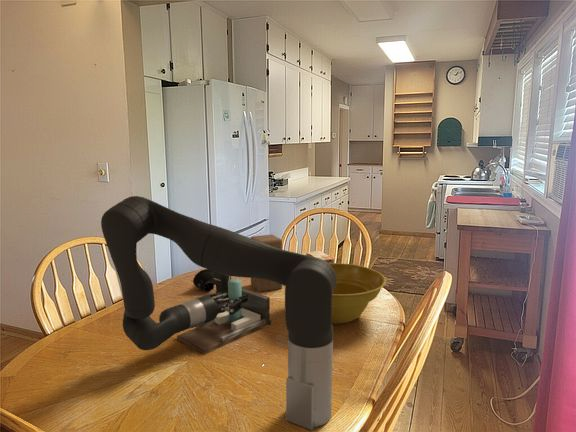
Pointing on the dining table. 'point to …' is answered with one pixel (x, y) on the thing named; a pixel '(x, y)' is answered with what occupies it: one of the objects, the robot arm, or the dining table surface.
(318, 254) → the stack of blocks
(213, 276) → the battery charger
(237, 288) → the dowel
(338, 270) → the planter bowl
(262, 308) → the rail base
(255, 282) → the block
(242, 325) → the carriage
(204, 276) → the black flared cup shape
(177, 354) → the dining table surface
